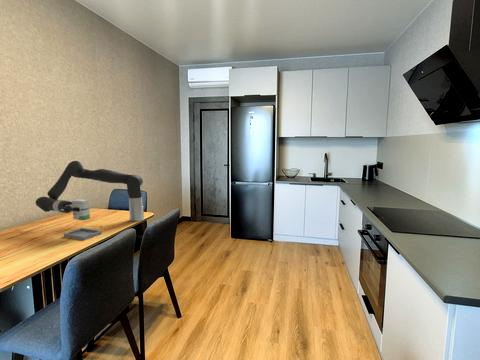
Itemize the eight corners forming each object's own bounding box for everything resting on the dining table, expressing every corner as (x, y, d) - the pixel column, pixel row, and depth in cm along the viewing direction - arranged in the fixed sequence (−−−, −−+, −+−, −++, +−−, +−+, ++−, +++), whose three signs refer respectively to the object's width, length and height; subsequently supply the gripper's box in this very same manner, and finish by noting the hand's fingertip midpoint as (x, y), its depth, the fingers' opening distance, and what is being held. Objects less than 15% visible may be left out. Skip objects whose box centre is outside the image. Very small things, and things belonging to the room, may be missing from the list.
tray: (82, 230, 174) (82, 227, 174) (101, 233, 168) (101, 230, 168) (63, 237, 162) (63, 233, 162) (84, 240, 156) (83, 236, 156)
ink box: (90, 218, 165) (89, 199, 163) (83, 220, 160) (82, 201, 159) (80, 217, 168) (78, 198, 166) (72, 219, 163) (71, 200, 161)
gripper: (51, 202, 161) (71, 205, 155) (73, 198, 174) (92, 200, 169) (52, 214, 162) (72, 217, 156) (74, 209, 175) (93, 212, 170)
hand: (83, 208), depth 163 cm, fingers closed on ink box, 5 cm apart
